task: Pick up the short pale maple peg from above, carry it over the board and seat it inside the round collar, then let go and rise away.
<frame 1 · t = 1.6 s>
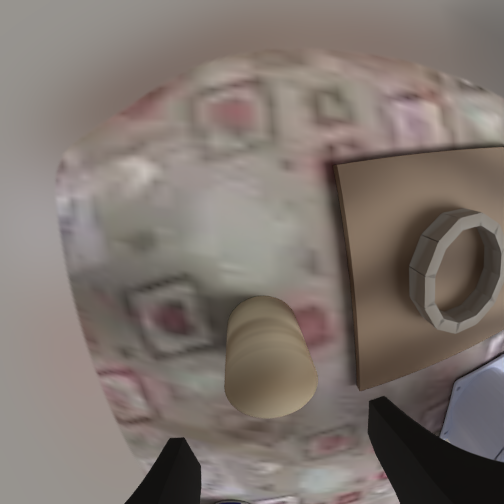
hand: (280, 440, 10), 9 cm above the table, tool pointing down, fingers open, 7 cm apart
socket board: (448, 264, 19), on the table
maple peg: (262, 327, 19), on the table
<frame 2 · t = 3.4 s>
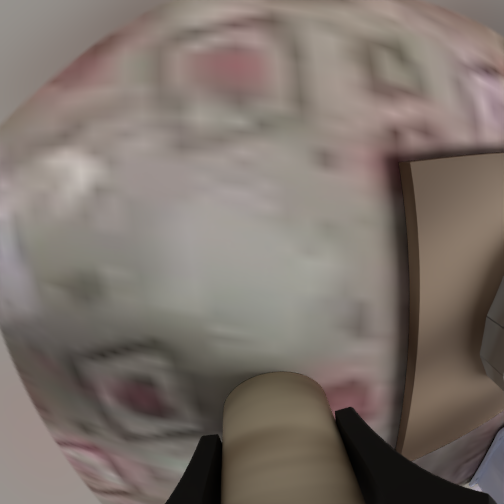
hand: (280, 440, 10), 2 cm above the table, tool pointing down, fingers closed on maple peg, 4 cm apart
maple peg: (275, 411, 12), on the table, touching gripper
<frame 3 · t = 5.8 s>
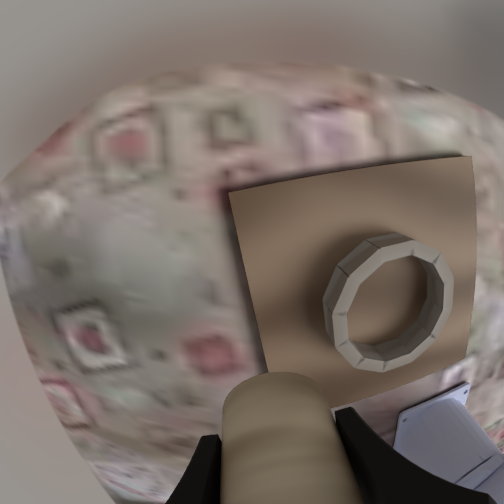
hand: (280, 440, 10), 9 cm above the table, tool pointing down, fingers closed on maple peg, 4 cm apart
socket board: (380, 294, 18), on the table
maple peg: (275, 411, 12), point 7 cm above the table, touching gripper
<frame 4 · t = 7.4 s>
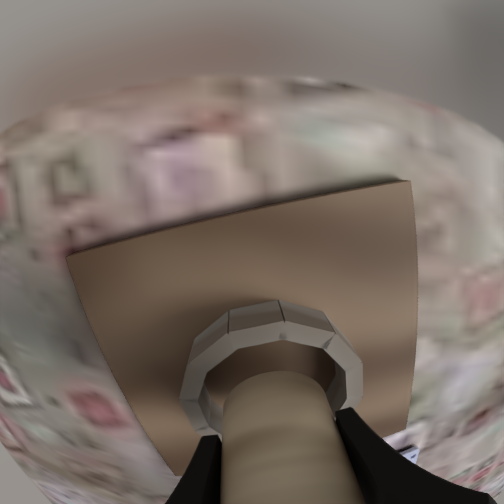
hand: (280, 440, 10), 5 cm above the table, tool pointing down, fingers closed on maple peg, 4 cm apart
socket board: (268, 367, 15), on the table
maple peg: (275, 410, 12), point 3 cm above the table, touching gripper
when the fingers open (4 cm above the table, at t = 8.5 s): maple peg drops 1 cm, resting on socket board.
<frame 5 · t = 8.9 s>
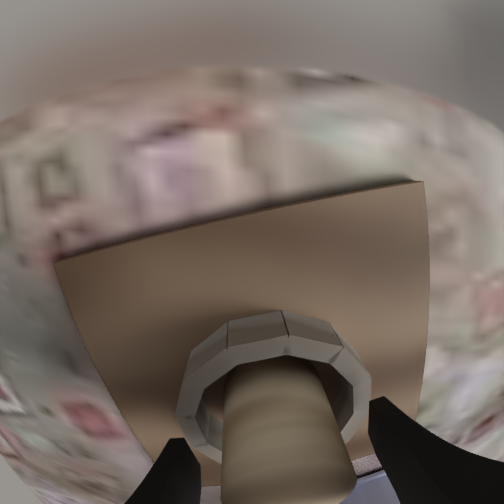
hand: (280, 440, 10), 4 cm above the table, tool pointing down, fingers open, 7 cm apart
socket board: (270, 379, 14), on the table
maple peg: (272, 389, 13), point 1 cm above the table, touching socket board
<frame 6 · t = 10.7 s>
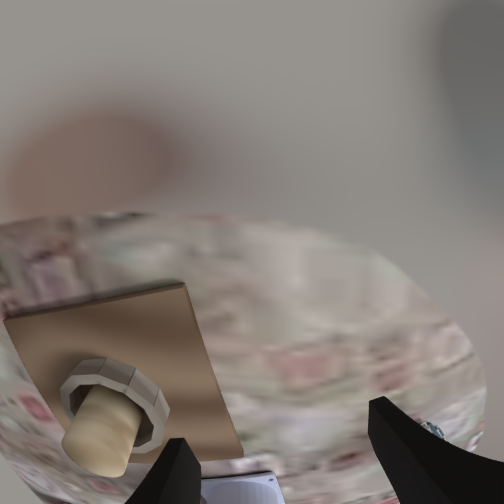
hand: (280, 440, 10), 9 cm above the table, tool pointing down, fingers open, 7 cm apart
socket board: (120, 395, 20), on the table
maple peg: (117, 401, 19), point 1 cm above the table, touching socket board
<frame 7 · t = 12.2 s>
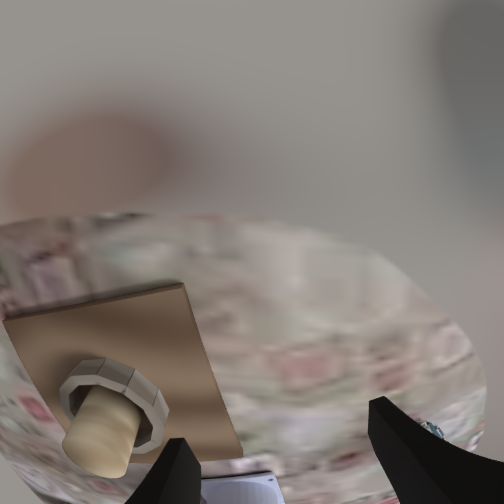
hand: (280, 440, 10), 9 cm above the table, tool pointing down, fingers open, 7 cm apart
socket board: (119, 395, 20), on the table
maple peg: (116, 401, 19), point 1 cm above the table, touching socket board
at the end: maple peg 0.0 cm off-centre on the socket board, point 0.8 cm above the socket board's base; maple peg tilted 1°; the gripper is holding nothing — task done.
